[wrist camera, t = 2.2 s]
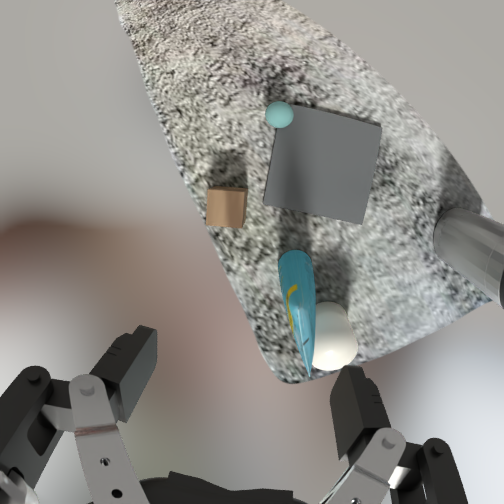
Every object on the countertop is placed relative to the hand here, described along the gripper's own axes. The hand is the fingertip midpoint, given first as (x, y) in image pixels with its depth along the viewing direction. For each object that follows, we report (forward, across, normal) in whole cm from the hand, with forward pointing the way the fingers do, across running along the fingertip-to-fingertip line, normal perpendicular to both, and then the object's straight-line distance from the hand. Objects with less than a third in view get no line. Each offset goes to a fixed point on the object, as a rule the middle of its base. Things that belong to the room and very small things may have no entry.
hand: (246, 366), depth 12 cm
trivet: (+30, -6, -9) cm, 32 cm away
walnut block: (+28, +3, -1) cm, 28 cm away
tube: (+30, -5, +6) cm, 31 cm away
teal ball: (+30, +1, -14) cm, 33 cm away
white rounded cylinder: (+30, -12, +14) cm, 35 cm away
